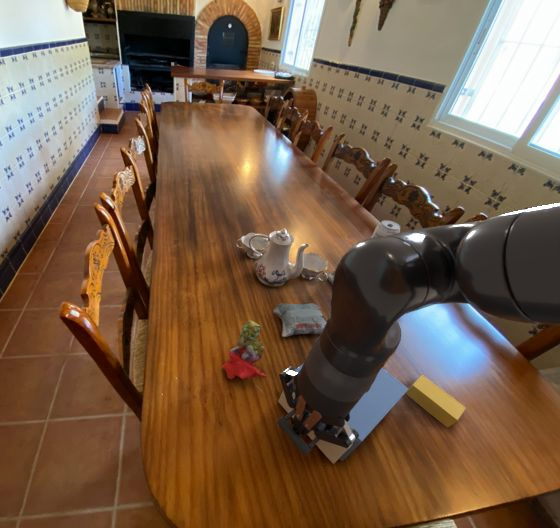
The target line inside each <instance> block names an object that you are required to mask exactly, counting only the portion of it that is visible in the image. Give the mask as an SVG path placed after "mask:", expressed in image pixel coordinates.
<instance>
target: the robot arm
mask: <svg viewBox="0 0 560 528" xmlns="http://www.w3.org/2000/svg"><path fill="white" fill-rule="evenodd" d="M335 268H336V269H335ZM335 268H334V271H335V272H334V271H333V272H334V277H333V285H332V289H331V290H332V291H331V301H330V314H329V317H328V319H327V321H326V322H327V323H326V325H325V327H324V329H323V331H322V333H321V334H319V336H318V337H317V338H316V339H315V341H314V342H313V344H312V346H311V348H310V350H309V352H308V353H307V355H306V358H305V360H304V362H303V363H304V364H303V363H302V364H303V366H302V368H301V370H300V371H299V373H297V372H296V371H295V370H296V368H294V366H292V365H290V366H288V367H287V368H285V369H284V370H283V371H282V372H280V373H279V374H278V377H279V381H280V384H281V387H282V392H283V391H284V394H285V397H286V400H287V404H288V406H289V407H290V408H292V409H293V408H294V410H295V416H294V418H292V420H291V424H292V425H293V426H292V428H293V429H294V430H295V431H296V432H297V434H298V435H299V436H300V437H301V436H302V437H306V436H308V435H307V434H309V433H310V432H311V431H312V430H313V431H314V434H315V436H316V437H317V438H318V439H320V440H323V441H326V442H329V443H332V444H335V445H338V446H341V447H344V448H349V447H350V445H352V444H353V442H354V441H355V440H356V439H357V438H358V437H359V434H358V432H357V431H356V430H355V429H353V428H350V427H349V424H348V421H349V419H350V411H351V410H352V409H353V407H354V406H355V405H356V404H357V403H358V401H359V400H360V399H361V398H362V396H363V395H364V394H365V393H367V392H368V391H369V390H370V388H371V385H372V384H373V383H374V381H375V379H376V377H377V375H378V373H379V371H380V370H381V369H382V368H384V366H385V365H386V364H387V362H388V361H389V360H390V359H391V358H392V357H393V355H394V354H395V353H396V351H397V349H398V347H399V345H400V343H401V340H402V329H401V328H402V327H401V325H400V323H399V321H398V320H399V319H400V318H402V317H404V316H405V315H406V314H410V313H413V312H415V311H419V310H422V309H425V308H428V307H431V306H435V305H443V304H445V305H446V304H465V305H471V306H472V307H473V308H475V309H476V310H478V311H480V312H481V313H483V314H485V315H487V316H489V317H492V318H495V319H501V320H506V321H510V322H516V323H517V322H518V323H525V324H533V325H545V326H556V327H557V326H558V327H560V202H559V203H554V204H553V203H552V204H548V205H542V206H537V207H532V208H526V209H522V210H518V211H513V212H508V213H505V214H501V215H500V214H499V215H497V216H493V217H489V218H487V219H484V220H478V221H469V222H459V223H453V224H452V223H451V224H444V225H437V226H431V227H424V228H418V229H412V230H407V231H402V232H401V231H400V233H396V234H391V235H386V236H382V237H376V238H371V237H370V238H367V239H364V240H361V241H359V242H357V243H355V244H354V245H352V246H351V247H350V248H349V249H347V251H346V252H345V253H344V254H343V256H341V257H340V259H339V261H338V262H337V264H336V266H335ZM293 392H294V393H295V396H294V397H293V396H292V394H293ZM310 414H311V415H310Z"/></svg>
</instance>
